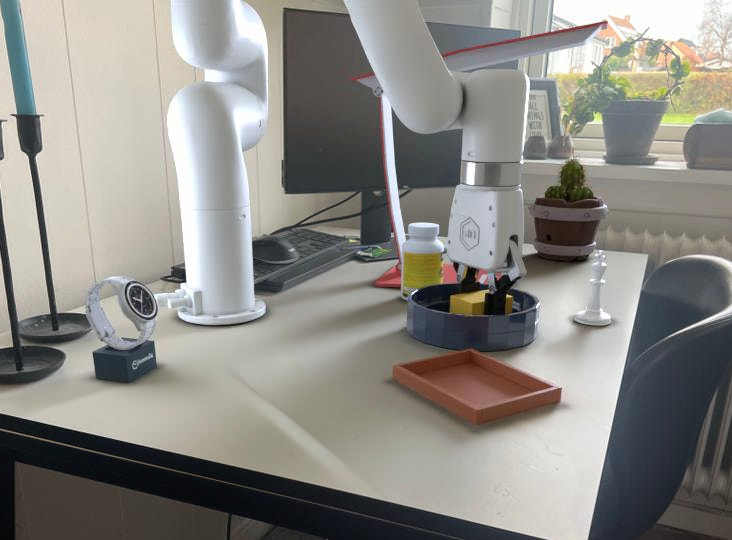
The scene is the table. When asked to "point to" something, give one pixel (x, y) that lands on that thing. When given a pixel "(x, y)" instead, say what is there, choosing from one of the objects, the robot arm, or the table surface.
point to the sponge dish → (476, 385)
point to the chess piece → (595, 297)
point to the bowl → (470, 320)
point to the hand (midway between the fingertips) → (480, 314)
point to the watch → (123, 354)
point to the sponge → (474, 303)
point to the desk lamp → (459, 63)
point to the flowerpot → (567, 216)
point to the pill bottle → (421, 258)
